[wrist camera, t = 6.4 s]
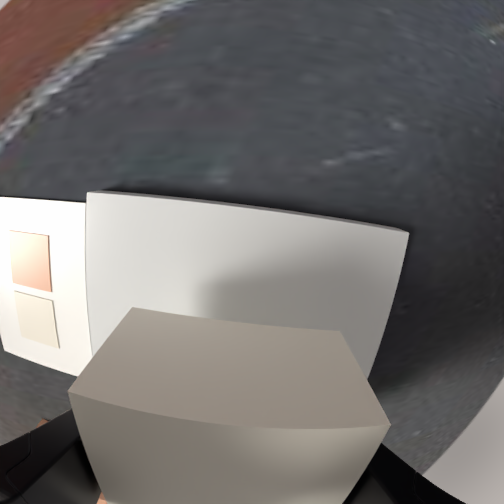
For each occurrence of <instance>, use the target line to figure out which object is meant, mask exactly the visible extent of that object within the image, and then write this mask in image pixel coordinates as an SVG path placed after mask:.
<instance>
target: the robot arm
mask: <svg viewBox="0 0 504 504" xmlns="http://www.w3.org/2000/svg"><path fill="white" fill-rule="evenodd" d="M101 492H102V491H101V489H100V486H99V484H98V482H97V479H96V477H95V474H94V472H93V469H92V467H91V464H90V462H89V459H88V456H87V453H86V451H85V448H84V445H83V442H82V439H81V436H80V433H79V430H78V427H77V424H76V420H75V417H74V413H73V410H72V408H71V409H69V410H68V411H66V412H64V413H62V414H61V415H59V416H57V417H55V418H54V419H52V420H50V421H48V422H46V423H45V424H43V425H41V426H39V427H37V428H35V429H34V430H32V431H30V433H29V432H28V433H26V434H24V435H22V436H21V437H19V438H17V439H15V440H12V441H10V442H8V443H6V444H4V445H1V446H0V504H97V502H98V499H99V497H100V494H101ZM342 504H466V503H464V502H462V501H460V500H459V499H457V498H455V497H453V496H452V495H450V494H448V493H446V492H445V491H443V490H442V489H440V488H439V487H437V486H436V485H434V484H433V483H431V482H430V481H429V480H427V479H426V478H425V477H423V476H422V475H421V474H419V473H418V472H416V471H415V470H414V469H413V468H412V467H410V466H409V465H408V464H407V463H405V462H404V461H403V460H402V459H400V458H399V457H398V456H397V455H395V454H394V453H393V452H392V451H391V450H389V449H388V448H387V447H386V446H384V445H383V444H382V443H381V444H380V445H379V447H378V449H377V451H376V452H375V454H374V456H373V457H372V459H371V461H370V462H369V464H368V466H367V467H366V469H365V470H364V472H363V474H362V475H361V477H360V478H359V480H358V481H357V483H356V484H355V486H354V487H353V489H352V490H351V492H350V493H349V495H348V496H347V498H346V499H345V500H344V502H343V503H342Z"/></svg>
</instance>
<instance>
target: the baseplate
mask: <svg viewBox="0 0 504 504" xmlns="http://www.w3.org/2000/svg"><path fill="white" fill-rule="evenodd" d="M408 237H409V233H408V232H406V231H403V230H401V229H398V228H394V227H389V226H383V225H378V224H372V223H366V222H360V221H354V220H348V219H342V218H335V217H329V216H323V215H316V214H309V213H302V212H296V211H288V210H281V209H274V208H267V207H259V206H251V205H243V204H235V203H227V202H218V201H210V200H201V199H191V198H182V197H172V196H162V195H151V194H140V193H128V192H115V191H102V190H99V191H92V192H87V202H86V235H85V254H86V286H87V303H88V316H89V326H90V336H91V344H92V352H93V356H94V355H95V354H96V352H97V351H98V350H99V348H100V347H101V346H102V344H103V343H104V342H105V341H106V339H107V338H108V337H109V335H110V334H111V333H112V332H113V330H114V329H115V328H116V327H117V325H118V324H119V323H120V322H121V320H122V319H123V318H124V317H125V315H126V314H127V313H128V312H129V310H130V309H131V308H132V307H136V308H142V309H148V310H154V311H160V312H166V313H173V314H180V315H187V316H194V317H201V318H209V319H216V320H224V321H233V322H241V323H251V324H260V325H270V326H281V327H292V328H304V329H318V330H332V331H340V332H341V334H342V336H343V337H344V339H345V341H346V343H347V345H348V346H349V348H350V350H351V352H352V354H353V355H354V357H355V359H356V361H357V363H358V364H359V366H360V368H361V370H362V372H363V374H364V375H365V377H366V379H368V376H369V374H370V371H371V368H372V365H373V363H374V360H375V357H376V354H377V351H378V348H379V345H380V342H381V339H382V336H383V333H384V330H385V327H386V323H387V320H388V317H389V313H390V310H391V306H392V303H393V299H394V296H395V292H396V288H397V284H398V281H399V277H400V273H401V268H402V264H403V260H404V256H405V251H406V246H407V242H408Z"/></svg>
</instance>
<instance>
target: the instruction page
mask: <svg viewBox="0 0 504 504" xmlns="http://www.w3.org/2000/svg"><path fill="white" fill-rule="evenodd" d="M85 235H86V203H83V202H70V201H57V200H44V199H29V198H14V197H0V335H1V339H2V343H3V347H4V350H5V351H7V352H10V353H12V354H15V355H17V356H20V357H22V358H25V359H27V360H30V361H33V362H36V363H38V364H41V365H44V366H47V367H50V368H53V369H56V370H59V371H62V372H65V373H68V374H72V375H75V376H79V375H80V373H81V372H82V371H83V369H84V368H85V367H86V365H87V364H88V363H89V361H90V360H91V359H92V358H93V352H92V344H91V336H90V326H89V316H88V303H87V286H86V254H85Z"/></svg>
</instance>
